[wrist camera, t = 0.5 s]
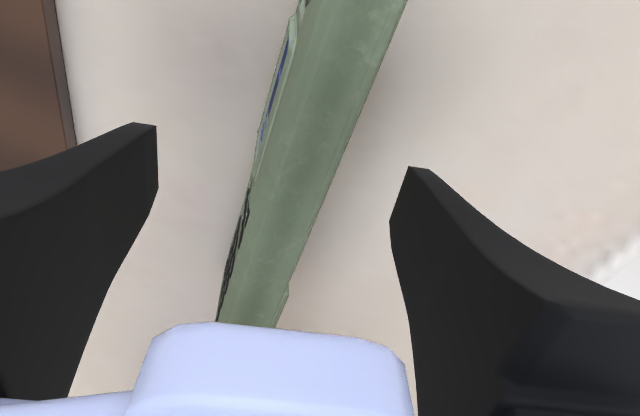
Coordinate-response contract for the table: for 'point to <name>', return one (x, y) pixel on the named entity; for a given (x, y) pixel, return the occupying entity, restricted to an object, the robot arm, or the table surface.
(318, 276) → the table surface
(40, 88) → the walnut board
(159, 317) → the table surface
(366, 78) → the handheld radio
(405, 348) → the table surface
